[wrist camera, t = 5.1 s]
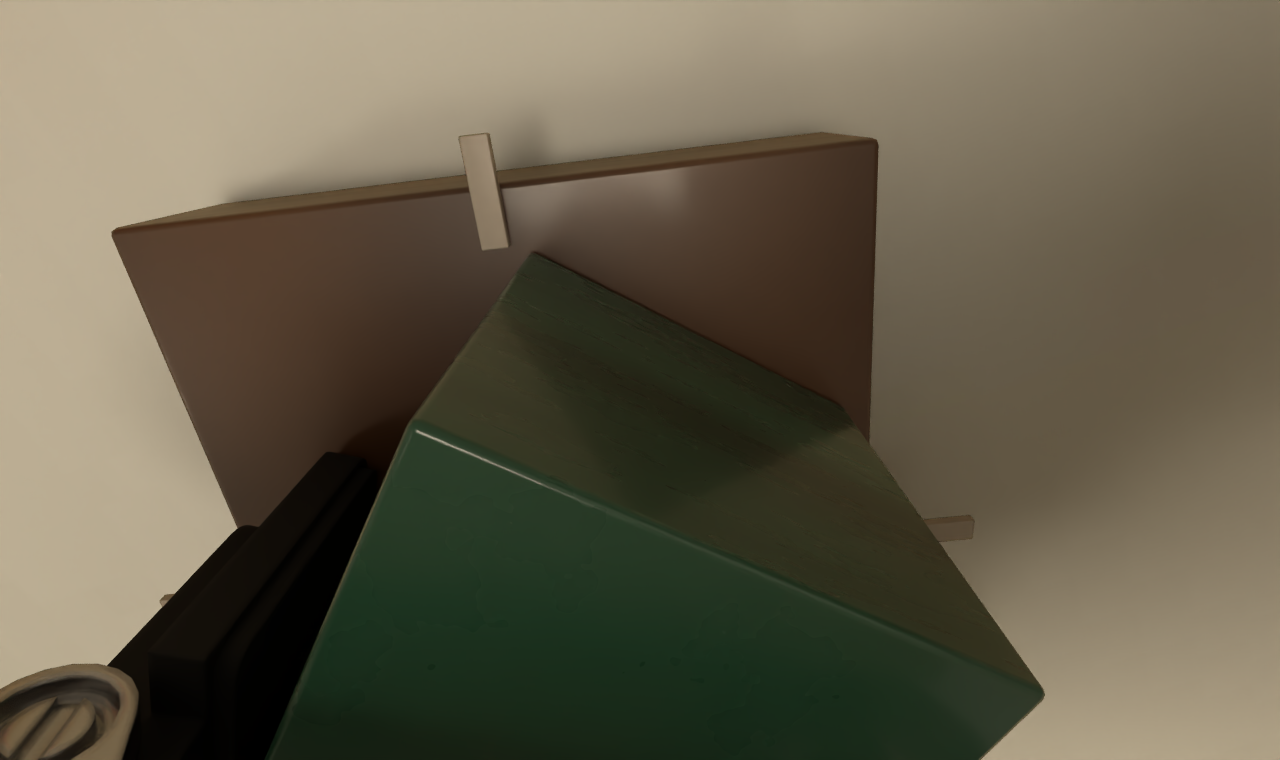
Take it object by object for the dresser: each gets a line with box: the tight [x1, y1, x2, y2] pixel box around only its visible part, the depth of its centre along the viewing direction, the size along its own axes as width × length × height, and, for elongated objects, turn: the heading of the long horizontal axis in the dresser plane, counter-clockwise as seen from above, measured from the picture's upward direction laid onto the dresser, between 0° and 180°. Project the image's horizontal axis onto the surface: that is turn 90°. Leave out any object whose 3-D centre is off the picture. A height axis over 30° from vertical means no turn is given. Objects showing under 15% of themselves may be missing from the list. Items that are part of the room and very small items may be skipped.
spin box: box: [264, 253, 1045, 760], centre depth 8 cm, size 9×5×5 cm, turn 152°
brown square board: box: [112, 132, 974, 607], centre depth 12 cm, size 13×13×3 cm
